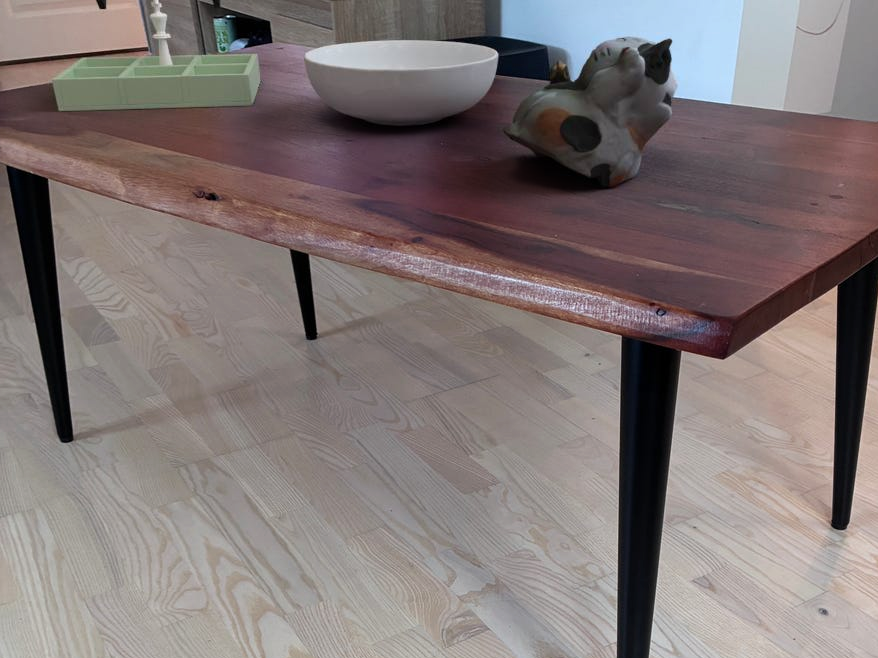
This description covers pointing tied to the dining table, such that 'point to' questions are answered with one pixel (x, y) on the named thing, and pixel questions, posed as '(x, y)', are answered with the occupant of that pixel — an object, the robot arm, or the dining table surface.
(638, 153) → the lucky cat figurine
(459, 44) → the serving bowl
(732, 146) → the dining table surface
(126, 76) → the compartment tray
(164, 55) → the chess piece
